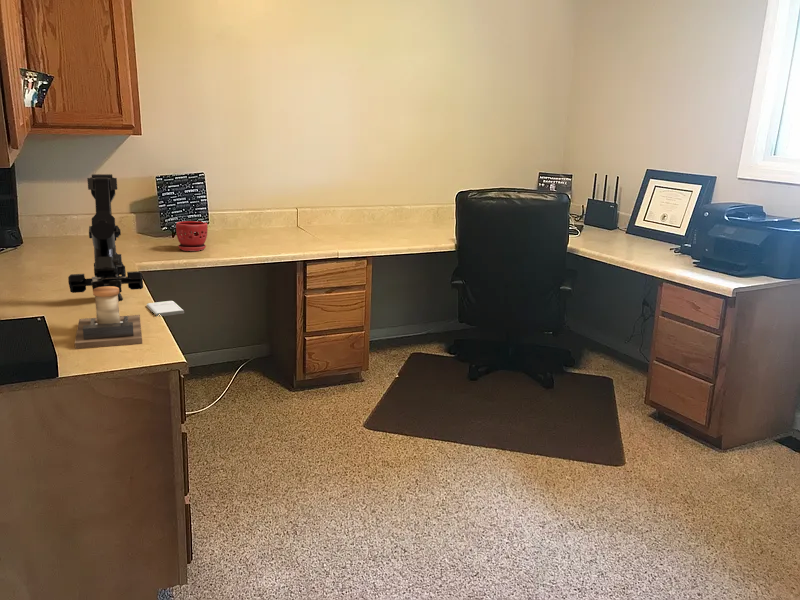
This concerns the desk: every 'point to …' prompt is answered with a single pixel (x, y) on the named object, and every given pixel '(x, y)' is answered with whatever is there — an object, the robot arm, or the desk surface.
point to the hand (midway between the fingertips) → (108, 308)
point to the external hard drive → (165, 308)
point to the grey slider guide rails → (108, 330)
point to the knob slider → (107, 304)
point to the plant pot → (191, 235)
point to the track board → (109, 341)
